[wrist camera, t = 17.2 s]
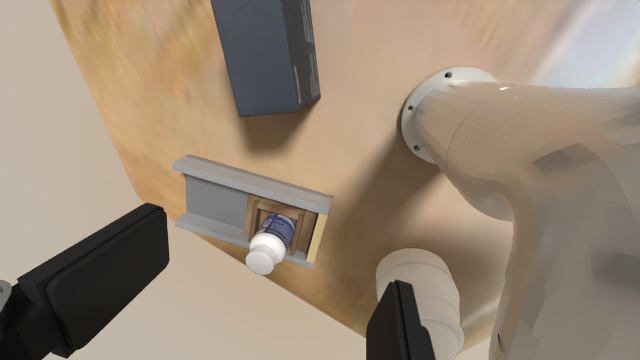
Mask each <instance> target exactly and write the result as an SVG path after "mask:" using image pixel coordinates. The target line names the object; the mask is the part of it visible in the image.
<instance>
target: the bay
mask: <svg viewBox="0 0 640 360" xmlns="http://www.w3.org/2000/svg"><path fill="white" fill-rule="evenodd" d="M173 170H175V171H178V172H182V173H185V174H186V202H187V212H186V213H184V214H183V215H182V216H180V217H179V218H178V219H177V220H175V221H176V227H179V228H182V229H186V230H189V231H192V232H195V233H198V234H201V235H205V236H208V237H211V238H214V239H218V240H221V241H224V242H227V243H230V244H234V245H237V246H240V247H243V248H246V249H250V242H248V240H249V235H246V234H243V233H244V224H245V215H246V206H247V197H248V192H249V193H252V194H256V195H259V196H262V197H266V198H269V199H273V200H276V201H279V202H283V203H286V204H289V205H293V206H296V207H299V208H303V209H306V210H310V211H313V212H316V213H318V214H317V218H316V221H315V225H314V229H313V233H312V236H311V240H310V244H309V247H308V250H307V253H304V252H301V251H298V250H296V251H295V254H294V256H292V255H289V254H285V256H284V258H283V259H282V260H285V261H288V262H291V263H294V264H298V265H301V266H304V267H307V268H310V269H312V267H313V264H314V261H315V257H316V254H317V250H318V247H319V244H320V240H321V237H322V234H323V230H324V227H325V223H326V220H327V217H328V213H329V210H330V206H331V203H332V199H333V196H330V195H327V194H323V193H320V192H317V191H313V190H310V189H306V188H303V187H299V186H296V185H293V184H289V183H286V182H282V181H279V180H275V179H272V178H269V177H265V176H262V175H258V174H255V173H252V172H248V171H245V170H241V169H238V168H234V167H231V166H228V165H224V164H221V163H217V162H214V161H210V160H207V159H204V158H200V157H197V156H193V155H190V154H189V155H187V156H185V157H183V158H180V159H178V160H176V161H174V162H173Z"/></svg>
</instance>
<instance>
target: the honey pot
mask: <svg viewBox="0 0 640 360" xmlns="http://www.w3.org/2000/svg"><path fill="white" fill-rule="evenodd" d="M396 279H397V280H400V281H404V282H407V283H410V284H412V286H413V290H414V294H415V299H416V303H417V308H418V312H419V317H420V321H421V325H422V326H424V327H426V328H427V330H428V331H429V334H430V338H431V342H432V346H433V350H434V354H435V358H436V360H455V357H456V354H457V353H458V352H459V351H460V350H461V348H462V346H463V344H464V333H463V331H462V329H461V327H460V326H459V323H460V314H459V299H460V297H459V293H458V290H457V288H456V286H455V283H454V281H453V278H452V276H451V274H450V271H449V269H448V267H447V264H446V263H445V262H444V261H443V260H442V258H440V257H439V256H437V255H436V254H434V253H432V252H429V251H427V250H424V249H417V248H406V249H401V250H397V251H394V252H392V253H390V254H388V255H387V256H385V257H384V258H383V259H382V260H381V261H380V263H379V265H378V266H377V270H376V286H377V298H378V303H379V301H380V299H381V297H382V295H383V293H384V291H385V289H386V288H387V286H388V284H389V282H394V281H395V280H396Z"/></svg>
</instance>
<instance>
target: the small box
mask: <svg viewBox="0 0 640 360" xmlns="http://www.w3.org/2000/svg"><path fill="white" fill-rule="evenodd" d="M210 1H211V5H212V9H213V13H214V17H215V21H216V25H217V29H218V33H219V37H220V41H221V45H222V49H223V53H224V57H225V61H226V66H227V70H228V74H229V78H230V82H231V86H232V90H233V94H234V98H235V102H236V106H237V110H238V114H239V116H240V117H250V116H259V115H269V114H279V113H289V112H297V111H299V110H300V109H301V108H303V107H305V106H306V105H308V104H310V103H311V102H313V101H315V100H316V99H320V98H321V95H320V88H319V78H318V69H317V61H316V52H315V44H314V36H313V27H312V18H311V9H310V1H309V0H210Z"/></svg>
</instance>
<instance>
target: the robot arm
mask: <svg viewBox="0 0 640 360" xmlns="http://www.w3.org/2000/svg"><path fill="white" fill-rule="evenodd" d="M446 73H447V74H448V76H447V77H446V78H445V74H446ZM409 106H411V107H412V108H411V109H410V110H408V107H409ZM401 130H402V135H403V138H404V140H405V142H406V144H407V146H408V147H409V149H410V150H411V151H412V152H413V153H414V154H415V155H416V156H418V157H419V158H421V159H423V160H425V161H427V162H430V163H433V164H437V165H438V166H439V168H440V169H441V170H442V172H443V173H444V174H445V175H446V177H447V178H448V179H449V181H450V182H451V183H452V184H453V186H454V187H455V188H456V189H457V190H458V191H459V193H460V194H461V195H462V196H463V198H464V199H465V200H466V201H467V202H468V203H469V204H470V205H471V206H473V207H474V208H475V209H477V210H478V211H480V212H482V213H483V214H485V215H487V216H490V217H492V218H495V219H498V220H503V221H508V222H513V241H512V247H511V252H510V256H509V260H508V264H507V268H506V273H505V283H504V287H503V291H502V295H501V299H500V303H499V307H498V311H497V315H496V319H495V323H494V327H493V332H492V336H491V342H490V349H489V360H640V87H629V88H587V89H586V88H565V87H550V86H533V85H520V84H506V83H500V82H499V81H498V80H497V79H496V78H495V77H494V76H493V75H491V74H490V73H488V72H487V71H485V70H482V69H479V68H476V67H469V66H458V67H451V68H447V69H444V70H441V71H438V72H436V73H434V74H432V75H430V76H429V77H427V78H426V79H425V80H423V81H422V82H421V83H419V85H418V86H417V87H416V88H415V89H414V90H413V91H412V93H411V94H410V96H409V97H408V99H407V101H406V103H405V105H404V108H403V111H402V116H401ZM415 145H417V148H414V146H415ZM168 263H169V245H168V230H167V215H166V212H164V209H163V207H160V206H157V205H154V204H151V203H145V204H143V205H141V206H139V207H138V208H136V209H134V210H133V211H131V212H129V213H127V214H126V215H124V216H122V217H121V218H119V219H117V220H115V221H114V222H112V223H110V224H109V225H107V226H105V227H104V228H103V229H100V230H99V231H97V232H95V233H93V234H92V235H90V236H88V237H87V238H85V239H84V240H82V241H80V242H78V243H77V244H75V245H73V246H71V247H70V248H68V249H66V250H65V251H63V252H61V253H60V254H58V255H56V256H55V257H53V258H51V259H49V260H48V261H46V262H45V263H43V264H41V265H39V266H38V267H36V268H34V269H32V270H31V271H29V272H27V273H26V274H24V275H22V276H21V277H19V278H17V280H18V282H19V283H17V284H15V285H14V286H12V287H11V285H10V283H8V282H6V281H4V280H0V360H42V359H43V358H44V357H45V356H46V355H47V354H49V353H50V352H52V353H53V354H55V355H58V356H61V357H64V358H68V357H69V356H70V355H71V354H73V352H75V351H76V350H79V349H81V348H83V347H84V346H85V345H87V344H88V343H89V342H90V341H91V340H92V339H93V338H94V337H95V336H96V335H97V334H98V333H99V332H100V331H101V330H102V329H103V328H104V327H105V326H106V325H107V324H108V323H109V322H110V321H111V320H112V319H113V318H114V317H115V316H116V315H117V314H118V313H119V312H120V311H122V309H124V308H125V307H126V306H127V305H128V304H129V302H131V301H132V300H133V299H134V298H135V297H136V296H137V295H138V294H139V293H140V292H141V291H142V290H143V289H144V288H145V287H146V286H147V285H148V284H149V283H150V282H151V281H152V280H153V279H154V278H155V277H157V275H159V274H160V272H162V271H163V270H164V269H165V268H166V266H167V265H168ZM366 360H436V358H435V354H434V350H433V346H432V342H431V338H430V334H429V331H428V330H427V328H426V327H424V326H422V325H421V321H420V317H419V312H418V308H417V303H416V299H415V294H414V290H413V286H412V284H410V283H407V282H404V281H400V280H397V279H396V280H395V281H394V282H389V284H388V286H387V288H386V289H385V291H384V293H383V295H382V297H381V299H380V301H379V303H378V305H377V307H376V309H375V311H374V313H373V315H372V317H371V319H370V321H369V323H368V326H367V331H366Z"/></svg>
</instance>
